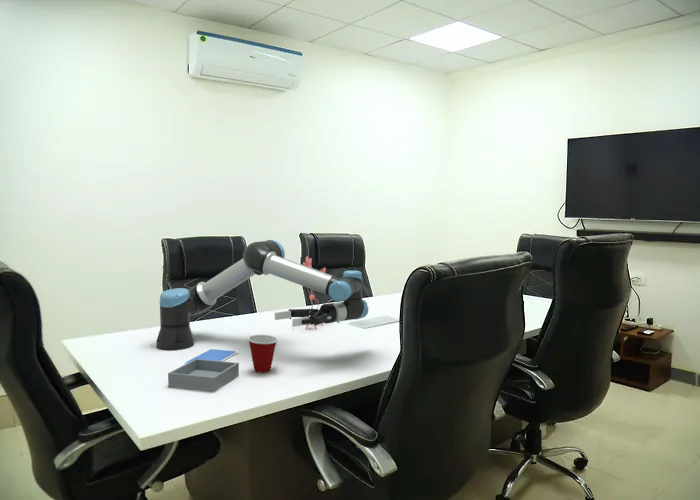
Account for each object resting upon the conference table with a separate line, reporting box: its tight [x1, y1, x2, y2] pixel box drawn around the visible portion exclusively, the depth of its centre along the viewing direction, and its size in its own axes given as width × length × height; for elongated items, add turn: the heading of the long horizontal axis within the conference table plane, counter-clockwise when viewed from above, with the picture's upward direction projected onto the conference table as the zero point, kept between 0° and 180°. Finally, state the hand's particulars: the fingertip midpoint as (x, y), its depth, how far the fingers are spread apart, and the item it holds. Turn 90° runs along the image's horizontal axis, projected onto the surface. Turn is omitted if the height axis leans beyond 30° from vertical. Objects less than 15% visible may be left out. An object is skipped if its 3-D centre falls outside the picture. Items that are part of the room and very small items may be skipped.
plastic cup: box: [247, 334, 279, 374], centre depth 182 cm, size 11×11×12 cm
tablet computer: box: [184, 348, 238, 365], centre depth 197 cm, size 19×13×1 cm, turn 165°
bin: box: [167, 359, 240, 393], centre depth 171 cm, size 17×17×4 cm
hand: (283, 319), depth 185 cm, fingers open, 13 cm apart
